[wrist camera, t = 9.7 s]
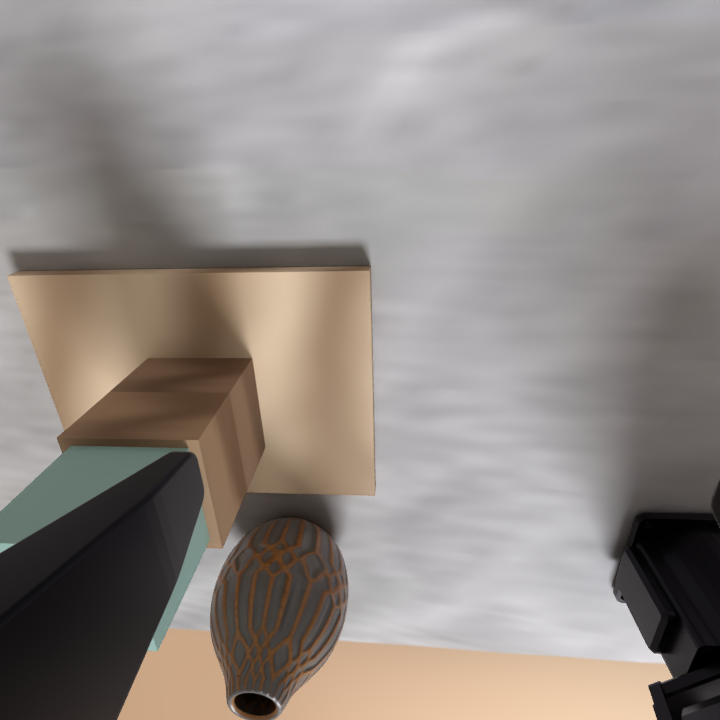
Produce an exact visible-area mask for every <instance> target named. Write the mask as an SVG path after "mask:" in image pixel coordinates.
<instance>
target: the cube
mask: <svg viewBox="0 0 720 720" xmlns="http://www.w3.org/2000/svg"><path fill="white" fill-rule="evenodd" d="M173 451H184V452H190V451H189V448H158V447H111V446H70V447H69V448H68V449H67V450H66V451H65V452H64V453H63V454H61V455H60V456H59V457H58V458H57V459H56V460H55V461H54V462H53V463H52V464H51V465H50V466H49V467H48V468H47V469H45V470H44V471H43V472H42V473H41V474H40V475H39V476H38V477H37V478H36V479H35V480H34V481H33V482H32V483H31V484H29V485H28V486H27V487H26V488H25V489H24V490H23V491H22V492H21V493H20V494H19V495H18V496H17V497H16V498H14V499H13V500H12V501H11V502H10V503H9V504H8V505H7V506H6V507H5V508H4V509H3V510H2V511H1V512H0V553H1V552H3V551H4V550H6V549H8V548H9V547H11V546H13V545H14V544H16V543H18V542H19V541H21V540H23V539H24V538H26V537H28V536H29V535H31V534H33V533H35V532H36V531H38V530H40V529H41V528H43V527H45V526H46V525H48V524H50V523H51V522H53V521H55V520H56V519H58V518H60V517H61V516H63V515H65V514H67V513H68V512H70V511H72V510H73V509H75V508H77V507H78V506H80V505H82V504H83V503H85V502H87V501H88V500H90V499H92V498H94V497H95V496H97V495H99V494H100V493H102V492H104V491H105V490H107V489H109V488H110V487H112V486H114V485H115V484H117V483H119V482H120V481H122V480H124V479H126V478H127V477H129V476H131V475H132V474H134V473H136V472H137V471H139V470H141V469H142V468H144V467H146V466H147V465H149V464H151V463H152V462H154V461H156V460H158V459H159V458H161V457H163V456H164V455H166V454H168V453H170V452H173ZM209 540H210V537H209V533H208V529H207V524H206V520H205V516H204V511H203V507H202V506H201V509H200V513H199V516H198V519H197V522H196V525H195V528H194V532H193V535H192V538H191V541H190V544H189V547H188V550H187V554H186V557H185V560H184V563H183V566H182V569H181V572H180V575H179V578H178V581H177V583H176V586H175V588H174V590H173V593H172V595H171V598H170V600H169V602H168V604H167V607H166V609H165V611H164V614H163V616H162V618H161V620H160V623H159V625H158V627H157V629H156V632H155V634H154V636H153V639H152V641H151V643H150V645H149V648H148V650H147V651H158V649H159V647H160V645H161V643H162V640H163V639H164V637H165V634H166V632H167V630H168V628H169V626H170V624H171V622H172V619H173V617H174V615H175V613H176V611H177V609H178V607H179V605H180V602H181V600H182V598H183V596H184V594H185V592H186V590H187V587H188V585H189V583H190V581H191V579H192V577H193V575H194V572H195V570H196V568H197V566H198V564H199V562H200V560H201V557H202V555H203V553H204V551H205V549H206V547H207V545H208V542H209Z"/></svg>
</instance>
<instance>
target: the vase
mask: <svg viewBox="0 0 720 720" xmlns="http://www.w3.org/2000/svg"><path fill="white" fill-rule="evenodd" d="M347 604H348V578H347V571H346V567H345V563H344V559H343V557H342V554H341V552H340V550H339V548H338V546H337V544H336V543H335V542H334V540H333V539H332V538H331V537H330V535H329V534H328V533H326V532H325V531H324V530H323V529H321V528H320V527H319V526H317V525H315V524H314V523H312V522H310V521H307V520H304V519H300V518H279V519H274V520H270V521H268V522H265V523H263V524H261V525H259V526H257V527H255V528H254V529H252V530H251V531H250V532H249V533H248V534H246V535H245V536H244V537H243V538H242V539H241V540H240V541H239V543H238V544H237V545H236V546H235V547H234V549H233V550H232V552H231V553H230V554H229V556H228V558H227V560H226V561H225V563H224V565H223V567H222V569H221V572H220V574H219V576H218V579H217V582H216V585H215V588H214V592H213V596H212V603H211V612H210V631H211V637H212V643H213V646H214V649H215V652H216V655H217V658H218V661H219V664H220V667H221V669H222V672H223V675H224V678H225V684H226V698H227V704H228V707H229V708H230V710H231V711H232V712H233V713H234V714H236V715H237V716H239V717H241V718H243V719H246V720H273V719H276V718H277V717H279V715H280V714H281V713H282V711H283V710H284V708H285V707H286V705H287V703H288V702H289V700H290V699H291V697H292V696H293V695H294V693H295V692H296V691H297V690H298V689H299V688H300V687H302V686H303V685H304V684H305V683H306V682H307V681H308V680H309V679H310V678H311V677H312V676H313V675H314V674H315V673H316V672H317V671H318V670H319V669H320V668H321V667H322V666H323V665H324V663H325V662H326V661H327V659H328V658H329V656H330V655H331V653H332V651H333V649H334V647H335V645H336V643H337V641H338V639H339V636H340V634H341V631H342V628H343V625H344V621H345V617H346V612H347Z"/></svg>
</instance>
